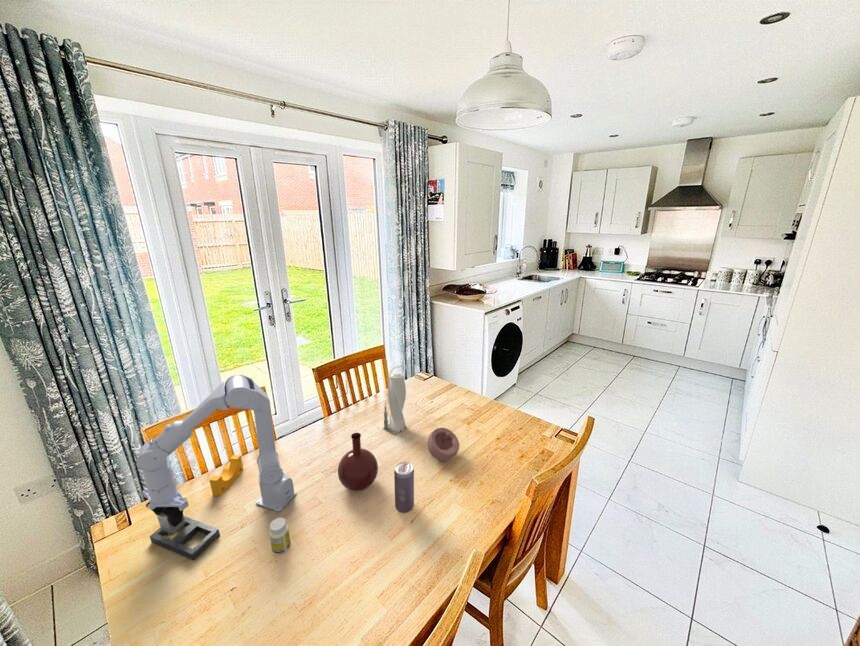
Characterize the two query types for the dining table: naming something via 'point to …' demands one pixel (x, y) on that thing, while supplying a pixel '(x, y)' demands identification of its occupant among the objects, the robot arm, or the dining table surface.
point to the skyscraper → (395, 402)
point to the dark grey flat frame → (187, 539)
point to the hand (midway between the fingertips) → (172, 521)
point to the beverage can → (404, 487)
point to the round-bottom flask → (357, 467)
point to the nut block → (168, 523)
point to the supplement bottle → (279, 536)
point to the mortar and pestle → (443, 444)
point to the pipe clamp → (226, 476)
